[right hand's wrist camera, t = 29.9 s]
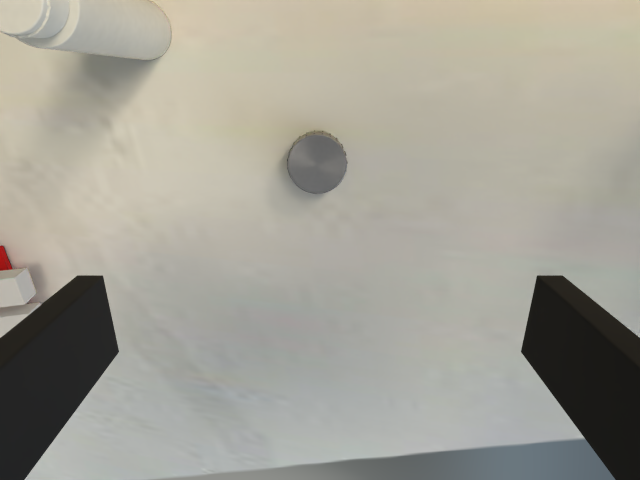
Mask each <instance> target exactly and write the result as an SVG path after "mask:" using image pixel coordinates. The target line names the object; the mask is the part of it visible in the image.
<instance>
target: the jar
mask: <svg viewBox="0 0 640 480" xmlns="http://www.w3.org/2000/svg"><path fill="white" fill-rule="evenodd" d="M0 32H2V33H5V34H7V35H9V36H12V37H15V38H17V39H18V40H20V41H21V42H23V43H25V44H27V45H30V46H33V47H37V48H44V49H53V50H61V51H70V52H79V53H88V54H97V55H105V56H114V57H123V58H132V59H141V60H153V59H156V58H158V57H160V56H162V55H163V54H164V53H165V52H166V50H167V49H168V47H169V45H170V41H171V26H170V23H169V20H168V18H167V16H166V14H165V13H164V12H163V10H162V9H161V8H160V7H159V6H158V5H156V4H155V3H153V2H152V1H149V0H0Z"/></svg>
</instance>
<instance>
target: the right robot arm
mask: <svg viewBox="0 0 640 480" xmlns="http://www.w3.org/2000/svg"><path fill="white" fill-rule="evenodd" d="M118 352H119V350H118V345H117V340H116V336H115V331H114V326H113V321H112V317H111V312H110V307H109V303H108V298H107V293H106V288H105V284H104V279H103V276H76V277H75V278H74V279H73V280H71V281H70V282H69V283H68V284H67V285H65V286H64V287H63V288H62V289H60V290H59V291H58V292H57V293H55V294H54V295H53V296H52V297H50V298H49V299H48V300H47V301H45V302H44V303H43V304H42V305H40V306H39V307H38V308H37V309H36V310H34V311H33V312H32V313H31V314H29V315H28V316H27V317H26V318H24V319H23V320H22V321H21V322H19V323H18V324H17V325H16V326H14V327H13V328H12V329H11V330H10V331H8V332H7V333H6V334H5V335H3V336H2V337H1V338H0V480H24V479H25V478H26V477H27V475H28V474H29V473H30V471H31V470H32V469H33V467H34V466H35V465H36V463H37V462H38V460H39V459H40V458H41V456H42V455H43V454H44V452H45V451H46V450H47V448H48V447H49V446H50V444H51V443H52V442H53V440H54V439H55V437H56V436H57V435H58V433H59V432H60V431H61V429H62V428H63V427H64V425H65V424H66V423H67V421H68V420H69V419H70V417H71V416H72V415H73V413H74V412H75V410H76V409H77V408H78V406H79V405H80V404H81V402H82V401H83V400H84V398H85V397H86V396H87V394H88V393H89V392H90V390H91V389H92V387H93V386H94V385H95V383H96V382H97V381H98V379H99V378H100V377H101V375H102V374H103V373H104V371H105V370H106V369H107V367H108V366H109V364H110V363H111V362H112V360H113V359H114V358H115V356H116V355H117V354H118ZM521 352H522V354H523V355H524V356H525V358H526V359H527V360H528V362H529V363H530V364H531V366H532V367H533V369H534V370H535V371H536V373H537V374H538V375H539V377H540V378H541V379H542V381H543V382H544V383H545V385H546V386H547V387H548V389H549V390H550V392H551V393H552V394H553V396H554V397H555V398H556V400H557V401H558V402H559V404H560V405H561V406H562V408H563V409H564V410H565V412H566V413H567V415H568V416H569V417H570V419H571V420H572V421H573V423H574V424H575V425H576V427H577V428H578V429H579V431H580V432H581V433H582V435H583V436H584V437H585V439H586V440H587V442H588V443H589V444H590V446H591V447H592V448H593V450H594V451H595V452H596V454H597V455H598V456H599V458H600V459H601V460H602V462H603V463H604V464H605V466H606V467H607V468H608V470H609V471H610V473H611V474H612V475H613V477H614V478H615V479H616V480H640V338H639V337H638V336H637V335H635V334H634V333H633V332H632V331H630V330H629V329H628V328H627V327H626V326H624V325H623V324H622V323H621V322H619V321H618V320H617V319H616V318H614V317H613V316H612V315H611V314H609V313H608V312H607V311H606V310H604V309H603V308H602V307H601V306H600V305H598V304H597V303H596V302H595V301H593V300H592V299H591V298H590V297H588V296H587V295H586V294H585V293H583V292H582V291H581V290H580V289H578V288H577V287H576V286H575V285H573V284H572V283H571V282H570V281H569V280H567V279H566V278H565V277H564V276H537V279H536V284H535V288H534V293H533V298H532V303H531V307H530V312H529V317H528V321H527V326H526V331H525V336H524V340H523V345H522V350H521Z"/></svg>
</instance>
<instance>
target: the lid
mask: <svg viewBox="0 0 640 480" xmlns="http://www.w3.org/2000/svg"><path fill="white" fill-rule="evenodd" d="M289 153H290V154H289V157H288V159H287V161H288V171H289V174H290V177H291V178H292V180H293V182H294V183H295V184H296V185H297V186H298V187H299V188H301V189H302V190H304V191H307V192H310V193H315V194H319V193H325V192H328V191H330V190H332V189H334V188H335V187H336V186H338V185H339V183H340V182H341V181H342V179H343V178H344V175H345V172H346V168H347V160H346V153H345V151H344V150H343V146H342V144H340V142H339V141H338V140H337V138H335V137H333V136H332V135H331V134H328V133H325V132H323V131H322V132H319V131H314V132H310V133H306V134H305V135H303V136H300V137H299V139H298V140H297V141H296V142H294V144H293V147H292V149H290V151H289Z"/></svg>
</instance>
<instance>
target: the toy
mask: <svg viewBox="0 0 640 480" xmlns="http://www.w3.org/2000/svg"><path fill="white" fill-rule="evenodd" d="M36 294H37V292H36V290H35V287H34V284H33V281H32V278H31V276H30V273H29V270H28V268H20V269H12V267H11V265H10V262H9V260H8V257H7V255H6V252H5V250H4V247H3V246H0V338H1V337H2V336H3V335H5V334H6V333H7V332H8V331H10V330H11V329H12V328H13V327H14V326H16V325H17V324H18V323H19V322H21V321H22V320H23V319H24V318H26V317H27V316H28V315H29V314H31V313H32V312H33V311H34V310H36V309H37V308H38V307H39V306H40V305H41V303H40V302H39V303H31V304H26V303H27V302H28V301H29V300H30V299H31V298H32V297H33V296H35V295H36Z"/></svg>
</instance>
